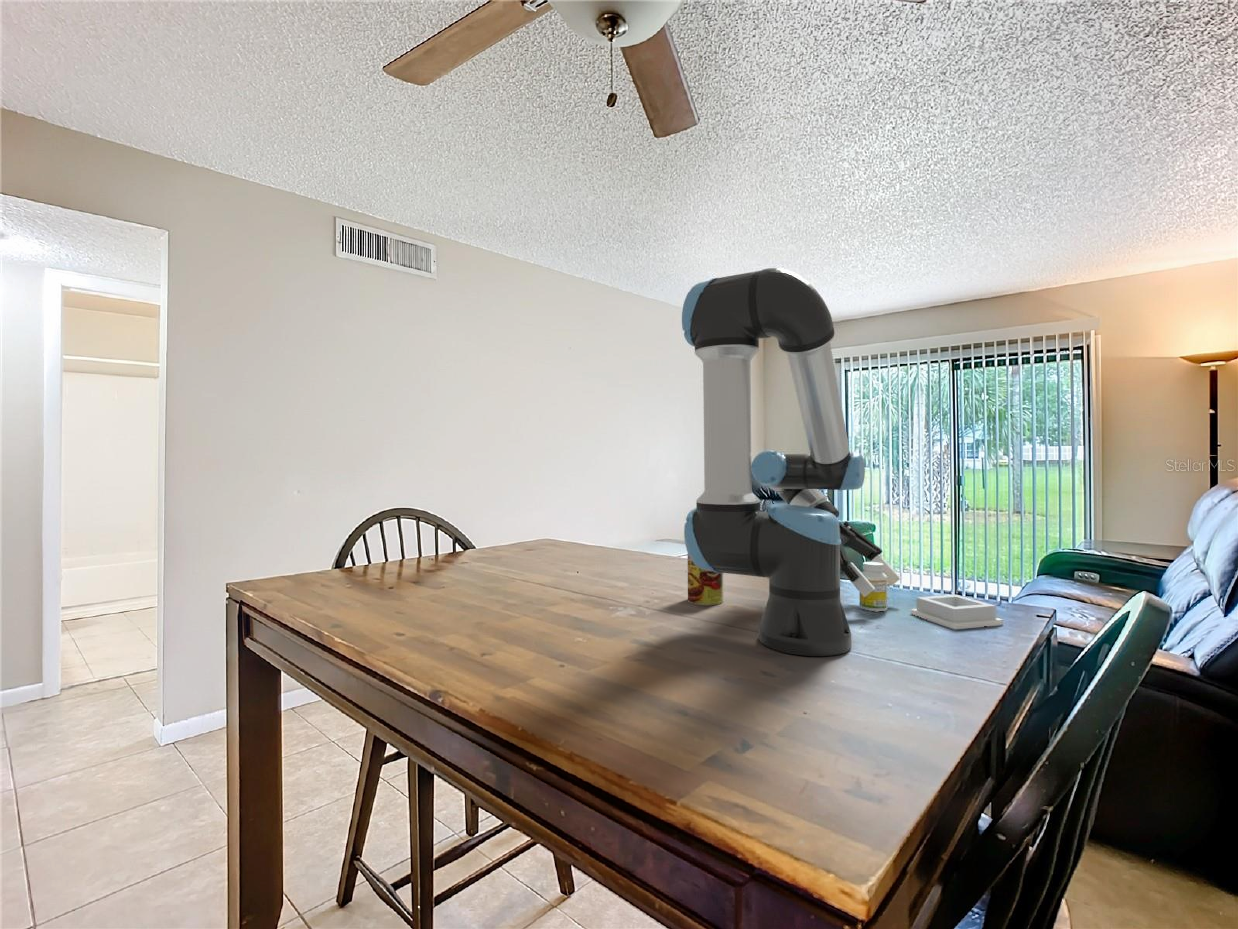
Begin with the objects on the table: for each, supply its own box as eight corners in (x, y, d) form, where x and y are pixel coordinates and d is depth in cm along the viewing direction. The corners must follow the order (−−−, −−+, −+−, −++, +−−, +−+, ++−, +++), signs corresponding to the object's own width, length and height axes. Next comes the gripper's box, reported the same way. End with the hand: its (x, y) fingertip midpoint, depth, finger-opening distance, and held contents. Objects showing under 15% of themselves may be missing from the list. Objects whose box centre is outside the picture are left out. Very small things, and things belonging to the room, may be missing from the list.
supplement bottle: (883, 613, 118) (882, 566, 118) (855, 609, 121) (855, 563, 121) (890, 608, 122) (890, 562, 122) (864, 604, 125) (864, 560, 125)
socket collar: (954, 629, 107) (954, 610, 107) (910, 614, 117) (910, 596, 117) (1002, 625, 109) (1002, 606, 109) (956, 610, 120) (955, 593, 120)
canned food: (682, 598, 133) (682, 545, 133) (714, 595, 134) (714, 544, 134) (695, 606, 125) (695, 550, 125) (729, 603, 127) (728, 549, 127)
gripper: (829, 517, 141) (893, 588, 131) (775, 526, 124) (843, 608, 113) (850, 496, 138) (918, 568, 127) (797, 502, 120) (871, 585, 110)
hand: (883, 587), depth 120 cm, fingers open, 13 cm apart
